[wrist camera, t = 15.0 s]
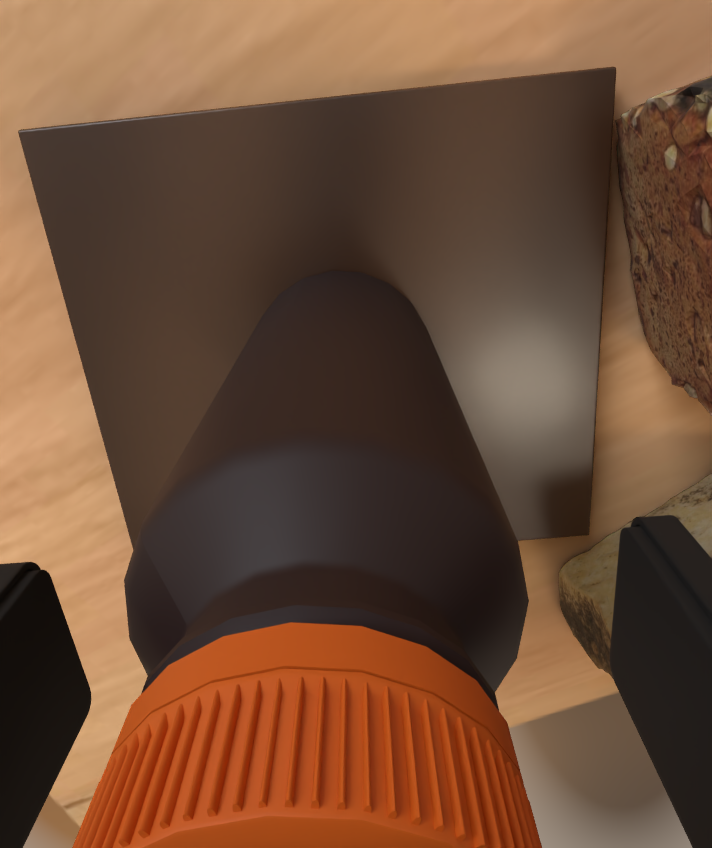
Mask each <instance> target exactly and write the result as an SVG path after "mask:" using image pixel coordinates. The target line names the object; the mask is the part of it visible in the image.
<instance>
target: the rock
mask: <svg viewBox="0 0 712 848" xmlns="http://www.w3.org/2000/svg"><path fill="white" fill-rule="evenodd" d="M662 515H673V516H675V517H676V518H678V519H679V521H680V522H681V523H682V524H683V525H684V526H685V528H686V529H687V530H688V531H689V532H690V534H691V535H692V536H693V537H694V538H695V539H696V541H697V542H698V543H699V544H700V545H701V546H702V548H703V549H704V550H705V551H706V552H707V553H708V555H709V556H710V557H711V558H712V474H710V475H708V476H706V477H705V478H704V479H702V480H701V481H700V482H699V483H698V484H696V485H694V486H692V487H690V488H689V489H687V490H684V491H683V492H682V493H680V494H678V495H677V496H675V497H673V498H671V499H670V500H668V502H667V503H666V504H664V505H662V506H661V507H659V508H657V509H656V510H654V511H652V512H651V513H649V514H648V515H646V516H644V517H649V516H662ZM631 523H632V521H631V522H630V523H628V524H627V525H625V526H624V527H623V528H625V527H631ZM623 528H621V529H620V530H619V531H616V532H614V533H612V534H610V535H608V536H607V537H606V538H605V539H604V540H602V541H601V542H599V543H598V544H597V545H595V546H594V547H593V548H592V549H591V550H589V551H588V552H585V553H582V554H580V555H577V556H575V557H574V558H572V559H571V560H570V561H568V562H567V563H566V564H565V565H564V566H563V567H562V568H561V570H560V572H559V593H560V605H561V609H562V612H563V614H564V617H565V619H566V621H567V623H568V625H569V626H570V628H571V630H572V633H573V635H574V636H575V637H576V638H577V640H578V641H579V642H580V644H581V645H582V647H583V648H584V650H585V651H586V653H587V654H588V656H589V657H590V658H591V659H592V661H593V662H594V663H595V665H596V666H597V667H598V668H599V669H603V670H604V671H605V672H607V673H609V674H610V675H611V677H612V678H613V676H612V672H611V668H610V645H611V633H612V622H613V610H614V598H615V587H616V575H617V564H618V552H619V541H620V533H621V530H622V529H623Z"/></svg>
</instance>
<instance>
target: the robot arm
mask: <svg viewBox="0 0 712 848" xmlns="http://www.w3.org/2000/svg"><path fill="white" fill-rule="evenodd" d="M610 668H611V672H612V676H613V679H614V681H615V684H616V686H617V688H618V690H619V692H620V694H621V696H622V699H623V701H624V703H625V705H626V707H627V709H628V711H629V713H630V715H631V718H632V720H633V722H634V724H635V726H636V728H637V730H638V733H639V735H640V737H641V739H642V741H643V743H644V745H645V747H646V749H647V752H648V754H649V756H650V758H651V760H652V762H653V764H654V766H655V768H656V770H657V773H658V775H659V777H660V779H661V781H662V783H663V786H664V788H665V790H666V792H667V794H668V796H669V798H670V800H671V802H672V805H673V807H674V809H675V811H676V813H677V815H678V817H679V819H680V822H681V823H682V826H683V828H684V830H685V832H686V834H687V836H688V839H689V841H690V843H691V845H692V847H693V848H712V558H711V557H710V556H709V555H708V553H707V552H706V551H705V550H704V549H703V548H702V546H701V545H700V544H699V543H698V542H697V541H696V539H695V538H694V537H693V536H692V535H691V534H690V532H689V531H688V530H687V529H686V528H685V526H684V525H683V524H682V523H681V522H680V521H679V519H678V518H676V517H675V516H673V515H662V516H649V517H636V518H635V519H633V521H632V523H631V527H625V528H623V529H622V530H621V533H620V541H619V552H618V564H617V575H616V587H615V598H614V610H613V622H612V633H611V645H610ZM90 705H91V691H90V687H89V684H88V681H87V679H86V676H85V673H84V670H83V667H82V664H81V661H80V659H79V656H78V653H77V650H76V647H75V644H74V642H73V639H72V636H71V633H70V630H69V627H68V625H67V622H66V619H65V616H64V613H63V610H62V608H61V605H60V602H59V599H58V596H57V593H56V590H55V588H54V585H53V582H52V579H51V577H50V575H49V573H48V572H47V571H45V570H40V568H39V566H38V565H37V564H36V563H33V562H24V563H10V564H0V848H23V846H24V844H25V842H26V840H27V838H28V836H29V833H30V831H31V829H32V827H33V825H34V823H35V821H36V819H37V817H38V815H39V813H40V811H41V809H42V807H43V805H44V803H45V801H46V799H47V797H48V795H49V793H50V791H51V789H52V786H53V784H54V782H55V780H56V778H57V776H58V774H59V772H60V770H61V768H62V766H63V764H64V762H65V760H66V758H67V756H68V754H69V752H70V750H71V748H72V746H73V743H74V741H75V739H76V737H77V735H78V733H79V731H80V729H81V727H82V725H83V723H84V721H85V719H86V717H87V715H88V712H89V709H90Z"/></svg>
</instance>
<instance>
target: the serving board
mask: <svg viewBox="0 0 712 848" xmlns="http://www.w3.org/2000/svg"><path fill="white" fill-rule="evenodd" d="M615 82H616V68H615V67H607V68H597V69H588V70H578V71H569V72H560V73H550V74H541V75H531V76H522V77H512V78H503V79H494V80H484V81H475V82H465V83H456V84H447V85H437V86H428V87H418V88H409V89H399V90H390V91H381V92H371V93H362V94H352V95H343V96H334V97H324V98H315V99H305V100H296V101H286V102H277V103H268V104H258V105H249V106H239V107H230V108H221V109H211V110H202V111H192V112H183V113H174V114H164V115H155V116H145V117H136V118H126V119H117V120H108V121H98V122H89V123H79V124H70V125H61V126H51V127H42V128H32V129H23V130H19V131H18V133H19V137H20V140H21V144H22V148H23V151H24V155H25V159H26V162H27V166H28V169H29V173H30V177H31V180H32V184H33V188H34V191H35V195H36V198H37V202H38V206H39V209H40V213H41V217H42V220H43V224H44V227H45V231H46V235H47V238H48V242H49V246H50V249H51V253H52V256H53V260H54V264H55V267H56V271H57V275H58V278H59V282H60V285H61V289H62V293H63V296H64V300H65V304H66V307H67V311H68V314H69V318H70V322H71V325H72V329H73V333H74V336H75V340H76V343H77V347H78V351H79V354H80V358H81V362H82V365H83V369H84V372H85V376H86V380H87V383H88V387H89V391H90V394H91V398H92V401H93V405H94V409H95V412H96V416H97V420H98V423H99V427H100V430H101V434H102V438H103V441H104V445H105V449H106V452H107V456H108V459H109V463H110V467H111V470H112V474H113V478H114V481H115V485H116V488H117V492H118V496H119V499H120V503H121V507H122V510H123V514H124V517H125V521H126V525H127V528H128V532H129V536H130V539H131V543H132V546H133V550H134V547H135V544H136V541H137V537H138V534H139V531H140V528H141V525H142V522H143V520H144V518H145V516H146V514H147V513H148V511H149V509H150V508H151V506H152V504H153V503H154V501H155V499H156V497H157V496H158V494H159V492H160V491H161V489H162V487H163V485H164V484H165V482H166V480H167V479H168V477H169V475H170V473H171V472H172V470H173V468H174V467H175V465H176V463H177V461H178V460H179V458H180V456H181V455H182V453H183V451H184V449H185V448H186V446H187V444H188V443H189V441H190V439H191V437H192V436H193V434H194V432H195V431H196V429H197V427H198V425H199V424H200V422H201V420H202V419H203V417H204V415H205V413H206V412H207V410H208V408H209V407H210V405H211V403H212V401H213V400H214V398H215V396H216V395H217V393H218V391H219V389H220V388H221V386H222V384H223V383H224V381H225V379H226V377H227V376H228V374H229V372H230V371H231V369H232V367H233V365H234V364H235V362H236V360H237V359H238V357H239V355H240V353H241V352H242V350H243V348H244V347H245V345H246V343H247V341H248V340H249V338H250V336H251V335H252V333H253V331H254V329H255V328H256V326H257V324H258V323H259V321H260V319H261V317H262V316H263V315H264V313H265V312H266V311H267V309H268V308H269V307H270V306H271V304H272V303H273V302H274V301H275V299H276V298H277V297H278V295H279V294H280V293H282V292H283V291H285V290H286V289H288V288H289V287H291V286H293V285H294V284H296V283H297V282H299V281H300V280H302V279H303V278H306V277H310V276H314V275H318V274H321V273H325V272H329V271H346V272H361V273H365V274H367V275H369V276H372V277H374V278H377V279H379V280H382V281H384V282H387V283H389V284H391V285H392V286H393V287H394V288H395V289H396V290H398V291H399V292H400V293H401V294H402V295H403V296H405V297H406V298H407V299H408V300H409V301H410V302H412V304H413V306H414V307H415V309H416V311H417V312H418V314H419V316H420V317H421V319H422V321H423V322H424V324H425V326H426V328H427V330H428V332H429V335H430V337H431V339H432V342H433V344H434V347H435V349H436V351H437V354H438V356H439V358H440V361H441V363H442V365H443V368H444V370H445V372H446V375H447V377H448V379H449V382H450V384H451V386H452V389H453V391H454V393H455V396H456V398H457V400H458V403H459V405H460V407H461V410H462V412H463V414H464V417H465V419H466V421H467V424H468V426H469V428H470V431H471V433H472V435H473V438H474V440H475V442H476V445H477V447H478V450H479V452H480V454H481V457H482V459H483V461H484V464H485V466H486V468H487V471H488V473H489V475H490V478H491V480H492V482H493V485H494V487H495V489H496V492H497V494H498V496H499V499H500V501H501V503H502V506H503V508H504V510H505V513H506V515H507V517H508V520H509V522H510V524H511V527H512V529H513V531H514V534H515V536H516V538H517V541H520V540H532V539H544V538H557V537H569V536H582V535H589V526H590V508H591V491H592V474H593V457H594V440H595V423H596V406H597V389H598V372H599V355H600V338H601V321H602V304H603V286H604V269H605V252H606V235H607V218H608V201H609V184H610V167H611V150H612V133H613V116H614V99H615Z"/></svg>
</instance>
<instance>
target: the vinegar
mask: <svg viewBox="0 0 712 848" xmlns="http://www.w3.org/2000/svg"><path fill="white" fill-rule="evenodd" d="M124 583H125V595H126V606H127V616H128V627H129V637H130V641H131V643H132V645H133V647H134V649H135V651H136V653H137V655H138V657H139V659H140V661H141V663H142V665H143V667H144V669H145V671H146V673H147V675H148V677H147V680H146V682H145V685H144V688H143V691H142V694H141V695H140V696H139V697H138V699H137V700H136V701H135V702H134V703H133V704H132V705H131V708H130V710H129V713H128V715H127V718H126V720H125V722H124V725H123V727H122V730H121V732H120V735H119V737H118V740H117V742H116V745H115V747H114V749H113V752H112V755H111V757H110V759H109V762H108V764H107V767H106V769H105V771H104V774H103V776H102V779H101V781H100V782H99V784H98V786H97V789H96V791H95V793H94V796H93V798H92V801H91V803H90V806H89V808H88V811H87V813H86V815H85V818H84V820H83V823H82V825H81V828H80V830H79V833H78V835H77V838H76V840H75V842H74V845H73V847H72V848H542V846H541V842H540V839H539V835H538V832H537V828H536V824H535V820H534V816H533V813H532V809H531V806H530V802H529V800H528V798H527V794H526V790H525V788H524V784H523V780H522V776H521V773H520V769H519V765H518V761H517V758H516V754H515V750H514V746H513V743H512V739H511V736H510V732H509V728H508V724H507V722H506V720H505V719H504V718H503V716H502V715H501V713H500V712H499V709H498V704H497V700H496V696H495V691H496V690H497V688H498V687H499V685H500V683H501V682H502V680H503V679H504V677H505V676H506V674H507V673H508V671H509V669H510V668H511V666H512V665H513V663H514V662H515V660H516V659H517V654H518V650H519V645H520V640H521V636H522V631H523V626H524V622H525V617H526V612H527V607H528V602H529V600H528V594H527V589H526V583H525V578H524V572H523V567H522V561H521V556H520V550H519V545H518V541H517V538H516V536H515V534H514V531H513V529H512V527H511V524H510V522H509V520H508V517H507V515H506V513H505V510H504V508H503V506H502V503H501V501H500V499H499V496H498V494H497V492H496V489H495V487H494V485H493V482H492V480H491V478H490V475H489V473H488V471H487V468H486V466H485V464H484V461H483V459H482V457H481V454H480V452H479V450H478V447H477V445H476V442H475V440H474V438H473V435H472V433H471V431H470V428H469V426H468V424H467V421H466V419H465V417H464V414H463V412H462V410H461V407H460V405H459V403H458V400H457V398H456V396H455V393H454V391H453V389H452V386H451V384H450V382H449V379H448V377H447V375H446V372H445V370H444V368H443V365H442V363H441V361H440V358H439V356H438V354H437V351H436V349H435V347H434V344H433V342H432V339H431V337H430V335H429V332H428V330H427V328H426V326H425V324H424V322H423V321H422V319H421V317H420V316H419V314H418V312H417V311H416V309H415V307H414V306H413V304H412V302H410V301H409V300H408V299H407V298H406V297H405V296H403V295H402V294H401V293H400V292H399V291H398V290H396V289H395V288H394V287H393V286H392V285H391V284H389V283H387V282H384V281H382V280H379V279H377V278H374V277H372V276H369V275H367V274H365V273H361V272H346V271H329V272H325V273H321V274H318V275H314V276H310V277H306V278H303V279H302V280H300V281H299V282H297V283H296V284H294V285H293V286H291V287H289V288H288V289H286V290H285V291H283V292H282V293H280V294H279V295H278V297H277V298H276V299H275V301H274V302H273V303H272V304H271V306H270V307H269V308H268V309H267V311H266V312H265V313H264V315H263V316H262V317H261V319H260V321H259V323H258V324H257V326H256V328H255V329H254V331H253V333H252V335H251V336H250V338H249V340H248V341H247V343H246V345H245V347H244V348H243V350H242V352H241V353H240V355H239V357H238V359H237V360H236V362H235V364H234V365H233V367H232V369H231V371H230V372H229V374H228V376H227V377H226V379H225V381H224V383H223V384H222V386H221V388H220V389H219V391H218V393H217V395H216V396H215V398H214V400H213V401H212V403H211V405H210V407H209V408H208V410H207V412H206V413H205V415H204V417H203V419H202V420H201V422H200V424H199V425H198V427H197V429H196V431H195V432H194V434H193V436H192V437H191V439H190V441H189V443H188V444H187V446H186V448H185V449H184V451H183V453H182V455H181V456H180V458H179V460H178V461H177V463H176V465H175V467H174V468H173V470H172V472H171V473H170V475H169V477H168V479H167V480H166V482H165V484H164V485H163V487H162V489H161V491H160V492H159V494H158V496H157V497H156V499H155V501H154V503H153V504H152V506H151V508H150V509H149V511H148V513H147V514H146V516H145V518H144V520H143V522H142V525H141V528H140V531H139V534H138V537H137V541H136V544H135V547H134V550H133V553H132V557H131V560H130V563H129V566H128V570H127V573H126V576H125V579H124Z"/></svg>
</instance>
